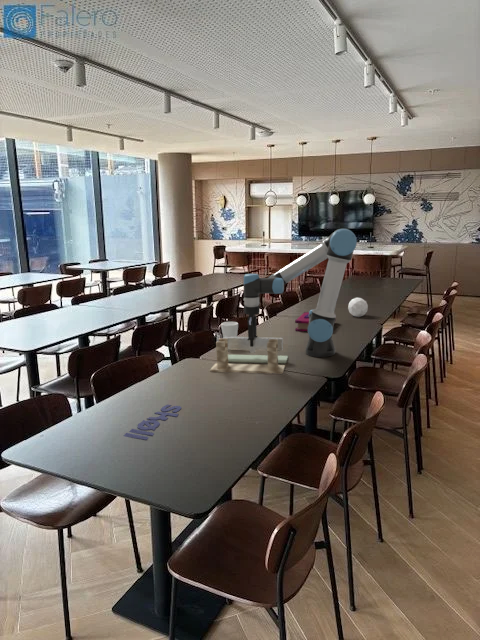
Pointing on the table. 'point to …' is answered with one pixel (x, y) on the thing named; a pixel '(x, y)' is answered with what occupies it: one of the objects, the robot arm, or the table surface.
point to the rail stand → (247, 368)
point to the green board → (254, 358)
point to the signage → (152, 419)
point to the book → (303, 322)
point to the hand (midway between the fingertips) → (252, 351)
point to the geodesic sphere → (357, 307)
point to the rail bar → (243, 343)
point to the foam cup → (229, 329)
